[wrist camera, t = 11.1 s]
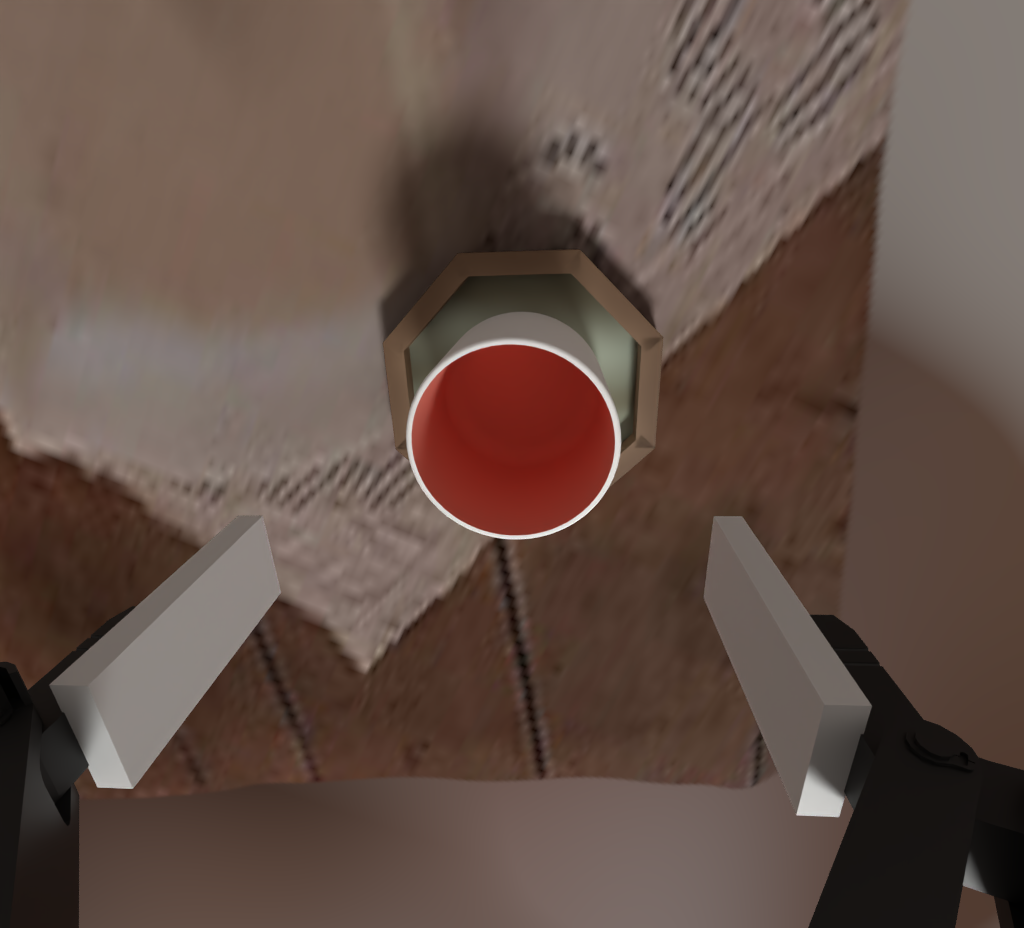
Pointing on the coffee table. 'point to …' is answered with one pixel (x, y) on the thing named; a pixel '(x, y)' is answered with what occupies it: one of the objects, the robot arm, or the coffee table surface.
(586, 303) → the tray
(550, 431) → the cup
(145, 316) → the coffee table surface
